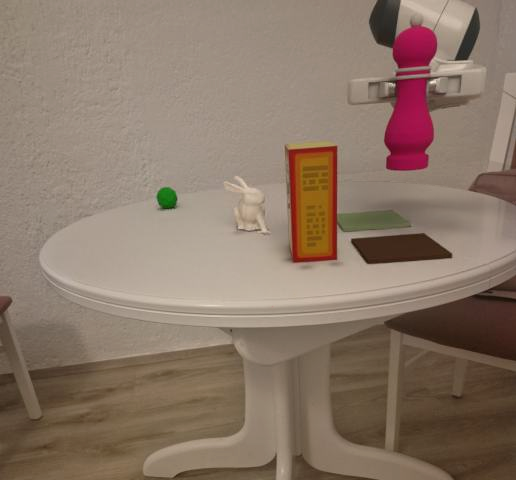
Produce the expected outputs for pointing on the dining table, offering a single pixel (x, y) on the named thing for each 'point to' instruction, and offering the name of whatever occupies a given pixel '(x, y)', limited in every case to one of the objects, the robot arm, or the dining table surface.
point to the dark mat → (399, 248)
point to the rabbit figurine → (248, 206)
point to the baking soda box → (312, 200)
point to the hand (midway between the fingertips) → (412, 87)
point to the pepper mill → (411, 99)
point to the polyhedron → (167, 198)
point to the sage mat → (371, 220)
